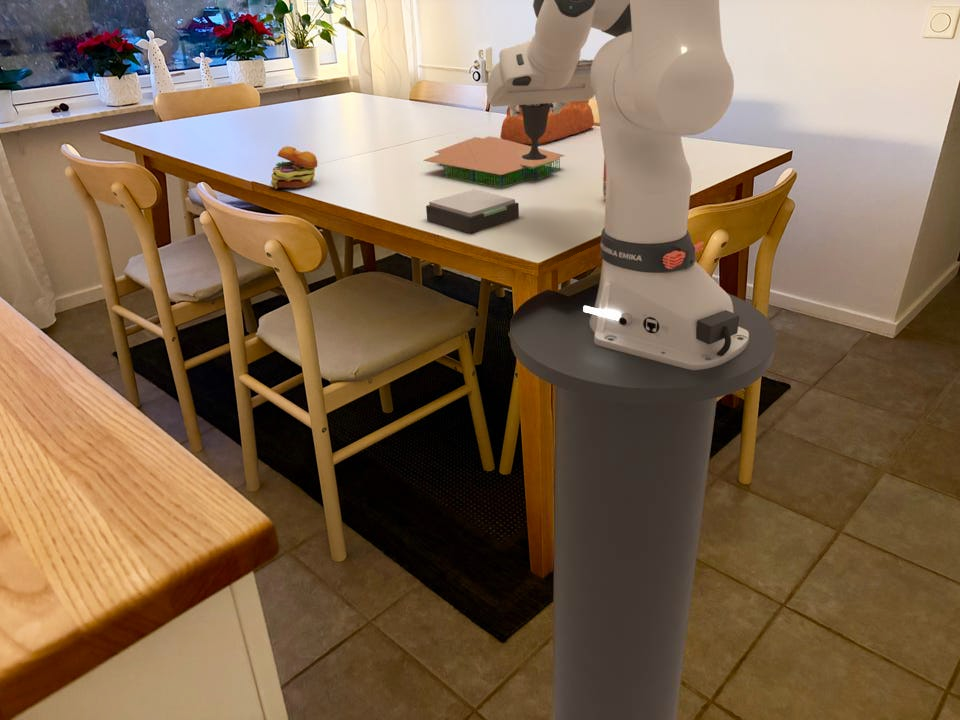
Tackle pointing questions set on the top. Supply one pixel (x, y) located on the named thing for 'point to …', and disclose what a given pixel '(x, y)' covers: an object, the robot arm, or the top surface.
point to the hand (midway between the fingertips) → (534, 112)
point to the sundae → (535, 126)
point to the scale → (472, 210)
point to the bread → (551, 124)
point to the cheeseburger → (294, 169)
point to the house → (493, 158)
